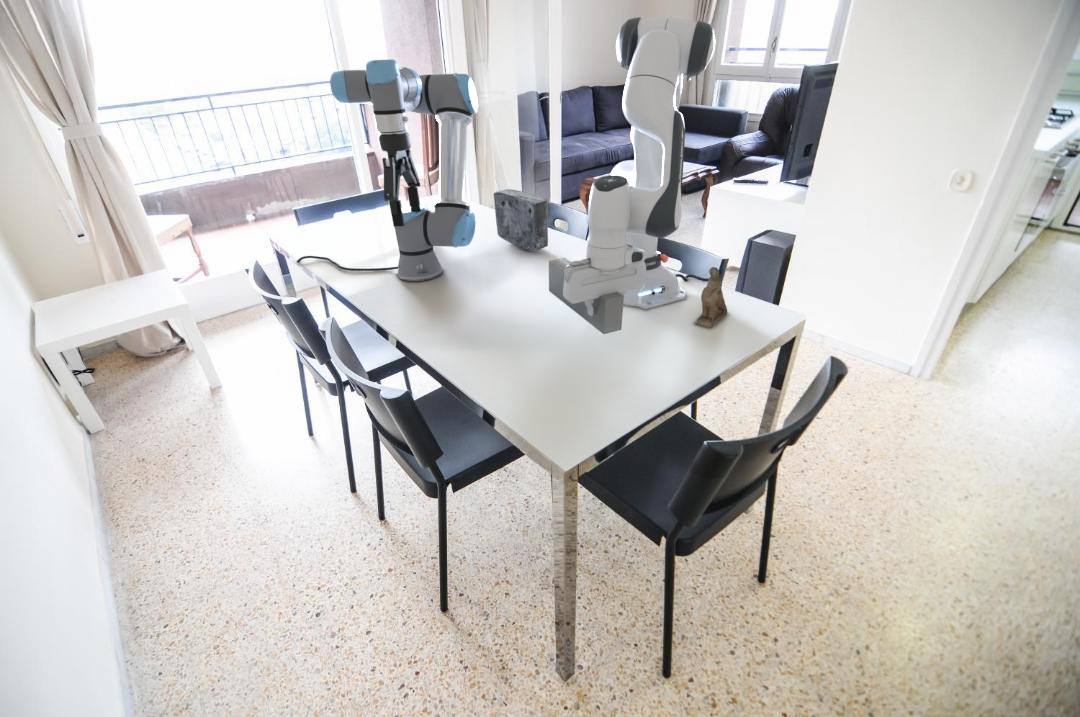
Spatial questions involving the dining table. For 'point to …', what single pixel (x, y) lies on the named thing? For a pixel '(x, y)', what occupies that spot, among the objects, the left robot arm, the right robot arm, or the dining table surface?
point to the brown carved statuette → (712, 301)
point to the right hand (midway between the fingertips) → (603, 311)
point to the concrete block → (522, 219)
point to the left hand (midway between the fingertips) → (408, 218)
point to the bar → (606, 304)
